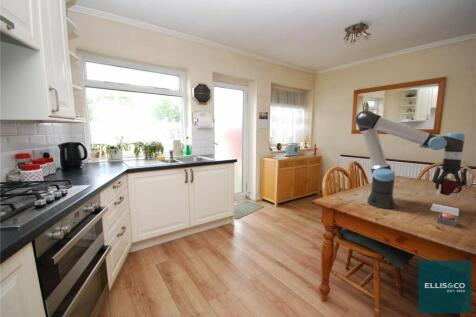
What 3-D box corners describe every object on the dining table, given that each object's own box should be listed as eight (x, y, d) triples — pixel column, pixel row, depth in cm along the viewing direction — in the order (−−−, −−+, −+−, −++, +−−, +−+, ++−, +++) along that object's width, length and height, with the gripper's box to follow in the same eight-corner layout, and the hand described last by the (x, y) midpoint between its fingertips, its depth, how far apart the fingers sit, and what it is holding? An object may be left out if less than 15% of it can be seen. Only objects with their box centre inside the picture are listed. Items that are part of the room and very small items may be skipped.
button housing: (455, 227, 104) (456, 221, 103) (437, 222, 109) (438, 217, 109) (456, 223, 108) (456, 217, 108) (438, 219, 113) (439, 213, 113)
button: (453, 221, 105) (453, 216, 105) (441, 218, 109) (441, 214, 108) (453, 219, 108) (454, 214, 108) (441, 216, 111) (442, 212, 111)
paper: (458, 216, 117) (458, 215, 117) (430, 210, 126) (430, 209, 126) (458, 209, 128) (459, 208, 128) (432, 204, 137) (432, 203, 137)
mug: (461, 198, 122) (467, 182, 120) (455, 198, 119) (460, 182, 117) (439, 191, 132) (444, 177, 130) (432, 192, 129) (437, 177, 127)
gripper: (433, 158, 123) (428, 194, 126) (480, 160, 115) (474, 198, 118) (427, 157, 130) (423, 191, 133) (471, 158, 122) (466, 195, 125)
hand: (447, 194), depth 126 cm, fingers closed on mug, 8 cm apart
